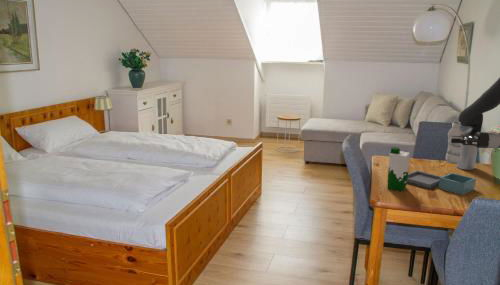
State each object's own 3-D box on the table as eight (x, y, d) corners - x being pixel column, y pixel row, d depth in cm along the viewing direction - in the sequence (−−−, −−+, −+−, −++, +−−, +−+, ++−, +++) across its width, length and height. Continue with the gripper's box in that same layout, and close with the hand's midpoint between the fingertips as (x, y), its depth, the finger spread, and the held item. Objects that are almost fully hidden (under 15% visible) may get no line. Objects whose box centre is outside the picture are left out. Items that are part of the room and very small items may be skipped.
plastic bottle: (461, 165, 205) (465, 124, 200) (445, 164, 207) (450, 123, 202) (458, 161, 211) (463, 121, 206) (443, 160, 213) (448, 121, 208)
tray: (416, 174, 232) (416, 170, 231) (445, 182, 220) (446, 177, 219) (400, 180, 222) (400, 176, 221) (429, 189, 210) (429, 184, 209)
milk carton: (389, 184, 217) (392, 145, 212) (408, 187, 213) (411, 148, 208) (385, 189, 210) (388, 149, 205) (404, 192, 205) (408, 152, 200)
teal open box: (450, 182, 219) (451, 172, 217) (474, 189, 210) (475, 178, 208) (438, 188, 211) (439, 177, 210) (462, 195, 202) (464, 183, 201)
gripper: (483, 129, 209) (446, 128, 212) (493, 136, 196) (454, 134, 199) (481, 144, 211) (445, 142, 214) (491, 151, 198) (452, 150, 201)
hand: (449, 139), depth 206 cm, fingers closed on plastic bottle, 6 cm apart
